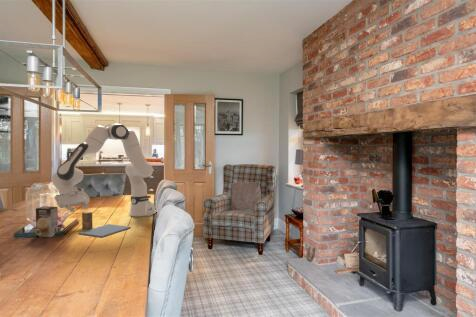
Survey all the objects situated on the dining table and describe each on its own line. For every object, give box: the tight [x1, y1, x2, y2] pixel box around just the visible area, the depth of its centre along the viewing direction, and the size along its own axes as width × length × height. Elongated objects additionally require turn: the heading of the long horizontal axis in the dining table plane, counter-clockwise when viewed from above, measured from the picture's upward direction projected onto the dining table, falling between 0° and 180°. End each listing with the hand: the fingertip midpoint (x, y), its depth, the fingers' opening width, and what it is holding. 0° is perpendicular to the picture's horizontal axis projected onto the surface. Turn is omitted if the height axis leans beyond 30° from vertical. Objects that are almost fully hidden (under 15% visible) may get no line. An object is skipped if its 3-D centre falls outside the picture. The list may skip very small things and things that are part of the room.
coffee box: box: [35, 206, 59, 238], centre depth 172 cm, size 9×6×16 cm
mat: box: [78, 223, 131, 238], centre depth 182 cm, size 22×18×1 cm
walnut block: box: [81, 211, 94, 231], centre depth 187 cm, size 4×4×10 cm
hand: (80, 209), depth 190 cm, fingers open, 8 cm apart
